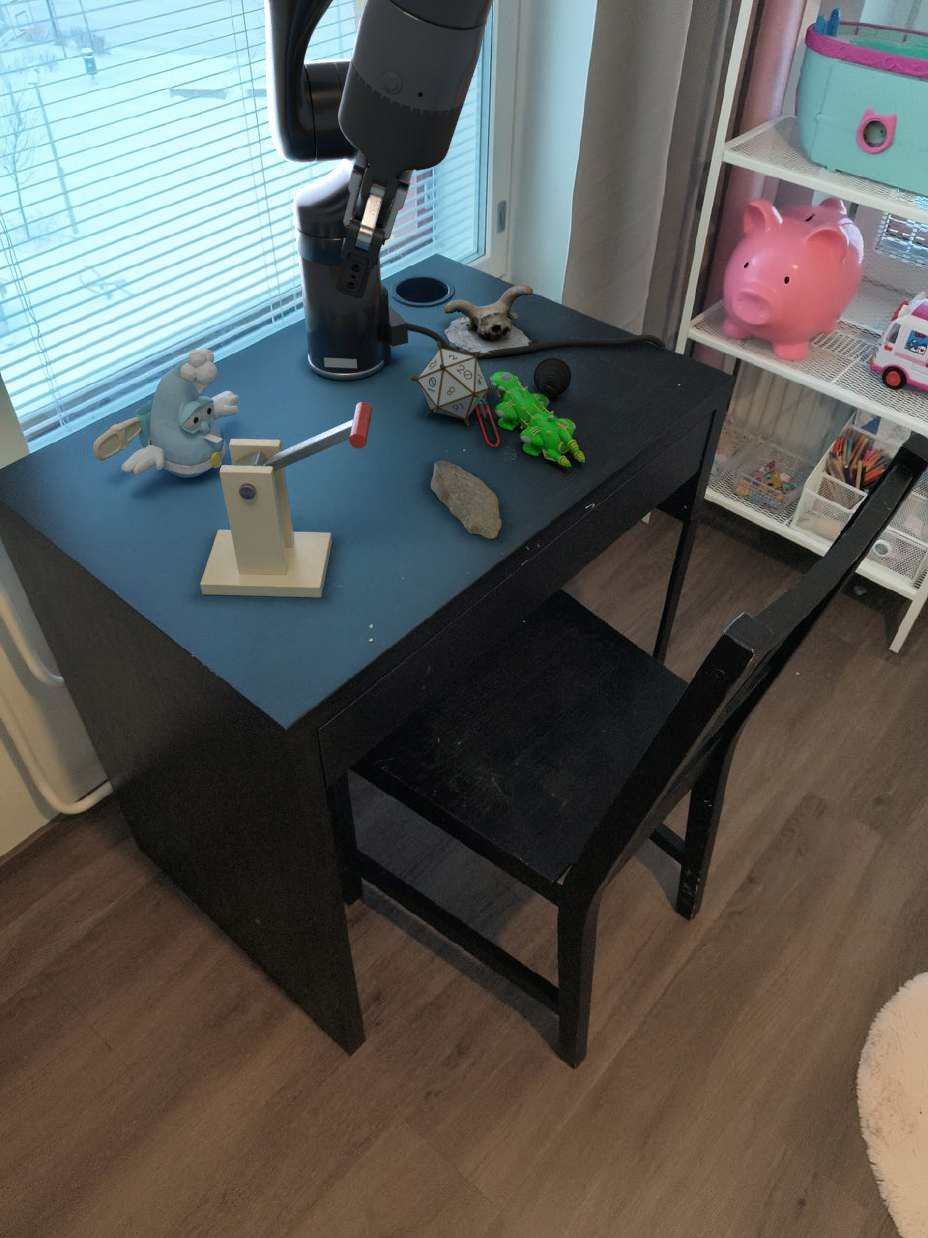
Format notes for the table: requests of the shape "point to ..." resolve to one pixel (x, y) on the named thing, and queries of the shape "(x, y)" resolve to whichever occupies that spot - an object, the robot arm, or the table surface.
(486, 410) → the red paper clip
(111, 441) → the toy figure
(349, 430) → the lever
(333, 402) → the table surface
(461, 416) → the game die
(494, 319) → the skull
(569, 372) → the chess piece
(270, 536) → the lever stand
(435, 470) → the stone
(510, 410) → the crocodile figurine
